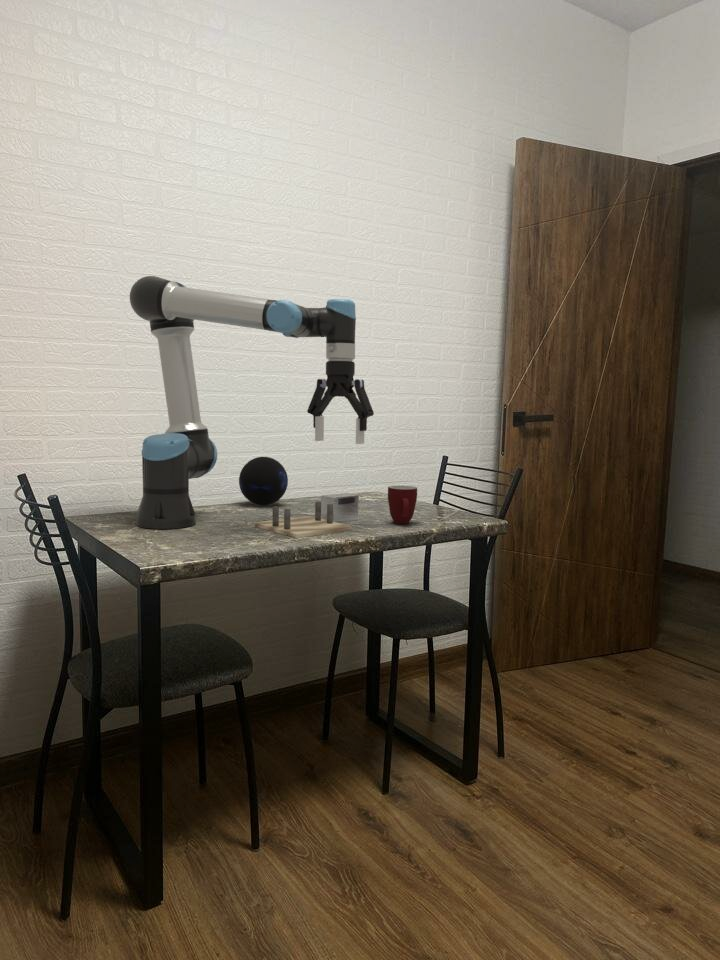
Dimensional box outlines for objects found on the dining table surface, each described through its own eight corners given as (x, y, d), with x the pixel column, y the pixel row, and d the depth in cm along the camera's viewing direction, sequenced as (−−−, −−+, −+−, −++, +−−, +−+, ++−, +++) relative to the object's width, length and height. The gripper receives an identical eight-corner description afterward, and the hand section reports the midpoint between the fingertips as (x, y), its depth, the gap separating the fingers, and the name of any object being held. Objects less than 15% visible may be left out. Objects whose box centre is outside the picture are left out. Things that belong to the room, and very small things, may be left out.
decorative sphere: (288, 509, 221) (289, 459, 219) (238, 508, 219) (238, 458, 217) (286, 501, 236) (287, 454, 234) (239, 501, 234) (239, 454, 232)
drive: (320, 520, 204) (321, 495, 203) (345, 517, 210) (345, 492, 209) (333, 523, 200) (334, 497, 199) (358, 519, 206) (358, 495, 205)
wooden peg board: (254, 526, 192) (254, 503, 191) (308, 519, 204) (309, 498, 203) (296, 538, 179) (296, 513, 178) (351, 529, 191) (352, 507, 190)
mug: (423, 527, 197) (424, 490, 195) (394, 528, 195) (395, 490, 193) (410, 520, 207) (411, 485, 205) (383, 521, 205) (384, 485, 203)
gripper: (294, 360, 194) (294, 440, 197) (370, 359, 180) (369, 445, 182) (313, 361, 200) (312, 438, 203) (388, 360, 186) (386, 444, 188)
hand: (339, 442), depth 193 cm, fingers open, 13 cm apart
